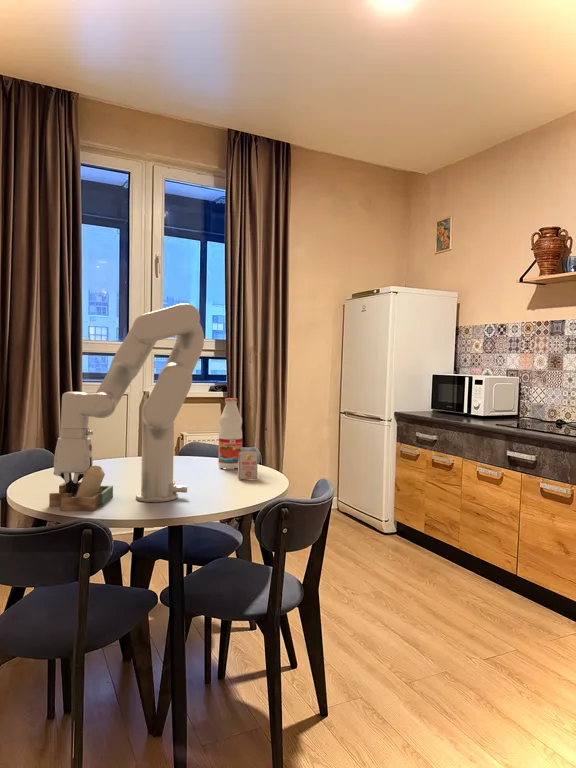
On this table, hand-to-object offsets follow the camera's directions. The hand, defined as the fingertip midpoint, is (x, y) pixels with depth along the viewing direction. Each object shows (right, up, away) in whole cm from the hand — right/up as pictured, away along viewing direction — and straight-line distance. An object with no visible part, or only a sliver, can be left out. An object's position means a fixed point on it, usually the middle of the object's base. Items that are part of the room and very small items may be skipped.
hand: (71, 495), depth 160 cm
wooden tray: (+3, -2, +1) cm, 3 cm away
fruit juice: (+40, -1, +59) cm, 71 cm away
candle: (+4, -1, 0) cm, 4 cm away
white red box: (+49, -2, +38) cm, 62 cm away
